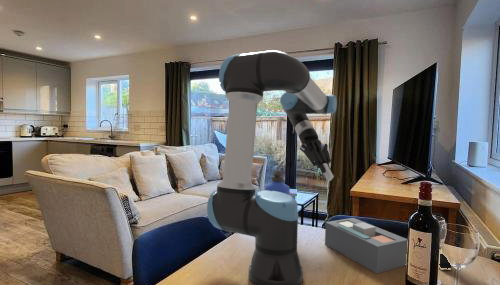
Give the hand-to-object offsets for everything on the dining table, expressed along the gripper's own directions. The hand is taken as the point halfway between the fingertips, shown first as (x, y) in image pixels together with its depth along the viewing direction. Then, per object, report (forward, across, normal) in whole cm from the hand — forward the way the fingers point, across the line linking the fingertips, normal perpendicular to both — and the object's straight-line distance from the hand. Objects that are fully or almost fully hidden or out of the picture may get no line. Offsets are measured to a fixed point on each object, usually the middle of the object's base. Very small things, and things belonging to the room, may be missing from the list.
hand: (330, 178), depth 115 cm
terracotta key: (+30, 0, +6) cm, 31 cm away
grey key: (+24, 0, +2) cm, 24 cm away
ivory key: (+20, 0, -5) cm, 20 cm away
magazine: (+39, -16, +8) cm, 43 cm away
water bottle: (+11, +19, -21) cm, 30 cm away
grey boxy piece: (+28, 0, -3) cm, 28 cm away
